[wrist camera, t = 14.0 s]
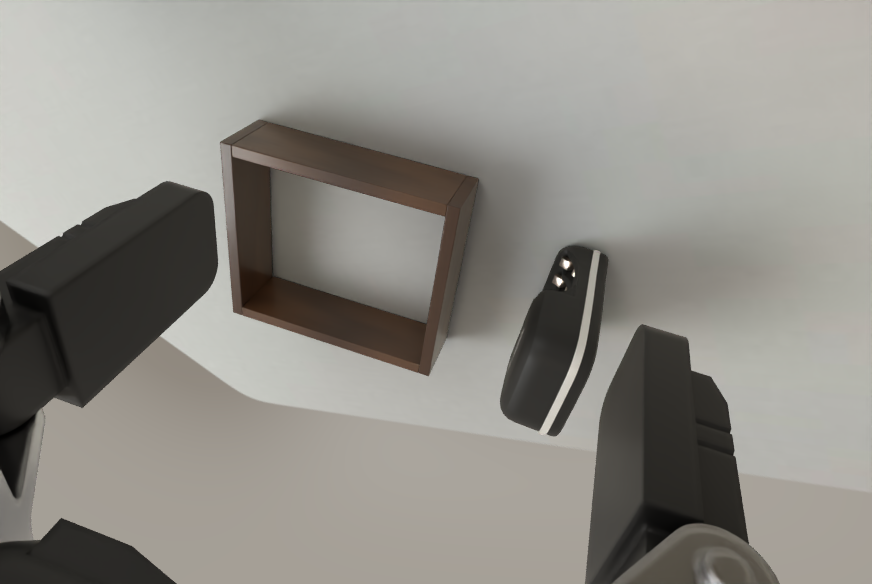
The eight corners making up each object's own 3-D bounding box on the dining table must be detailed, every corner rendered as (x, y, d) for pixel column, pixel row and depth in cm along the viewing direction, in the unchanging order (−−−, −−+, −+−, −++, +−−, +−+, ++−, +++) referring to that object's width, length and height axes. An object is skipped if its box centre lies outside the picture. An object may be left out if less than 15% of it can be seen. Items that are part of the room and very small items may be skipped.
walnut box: (264, 281, 48) (232, 312, 45) (258, 119, 40) (219, 141, 37) (446, 338, 46) (428, 376, 42) (479, 178, 38) (460, 208, 34)
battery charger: (554, 230, 38) (522, 337, 29) (612, 250, 38) (597, 364, 29) (522, 312, 42) (486, 428, 33) (574, 331, 42) (551, 453, 33)
